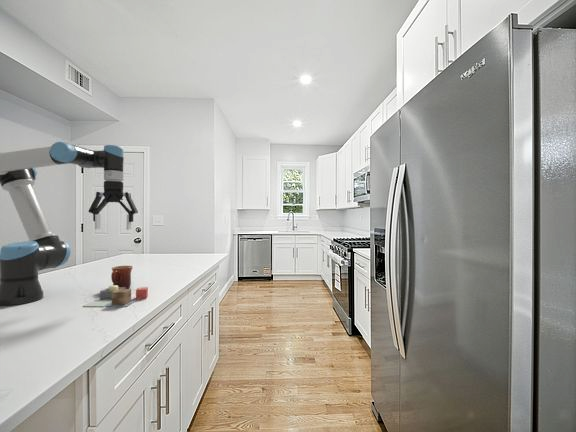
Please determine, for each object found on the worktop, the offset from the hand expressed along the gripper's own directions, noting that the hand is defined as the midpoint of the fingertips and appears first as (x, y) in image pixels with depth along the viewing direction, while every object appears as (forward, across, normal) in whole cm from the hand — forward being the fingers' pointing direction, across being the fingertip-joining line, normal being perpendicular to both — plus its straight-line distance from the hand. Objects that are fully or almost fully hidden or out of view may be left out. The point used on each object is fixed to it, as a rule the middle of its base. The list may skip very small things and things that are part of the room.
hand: (113, 229), depth 134 cm
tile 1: (+29, +2, -14) cm, 32 cm away
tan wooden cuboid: (+28, +11, -14) cm, 34 cm away
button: (+28, +3, -5) cm, 29 cm away
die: (+29, +15, -5) cm, 33 cm away
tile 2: (+29, +11, -14) cm, 34 cm away
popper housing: (+29, +3, -5) cm, 29 cm away
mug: (+29, -1, +8) cm, 30 cm away
